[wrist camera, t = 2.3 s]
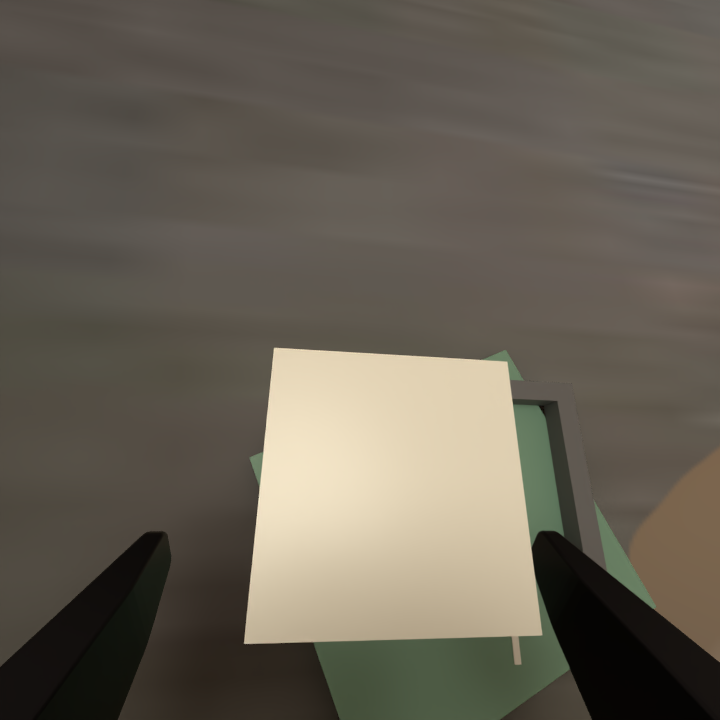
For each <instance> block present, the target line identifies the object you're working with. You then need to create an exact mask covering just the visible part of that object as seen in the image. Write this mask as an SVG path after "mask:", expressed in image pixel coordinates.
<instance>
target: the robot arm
mask: <svg viewBox="0 0 720 720" xmlns="http://www.w3.org/2000/svg"><path fill="white" fill-rule="evenodd" d="M531 550H532V558H533V566H534V573H535V578H536V581H537V584H538V587H539V590H540V593H541V596H542V599H543V602H544V605H545V608H546V611H547V614H548V617H549V620H550V622H551V625H552V628H553V630H554V633H555V635H556V637H557V640H558V642H559V645H560V647H561V649H562V651H563V654H564V656H565V658H566V661H567V663H568V665H569V668H570V670H571V672H572V675H573V677H574V679H575V681H576V684H577V686H578V688H579V691H580V693H581V695H582V698H583V700H584V702H585V705H586V707H587V709H588V711H589V714H590V716H591V718H592V720H720V662H719V661H717V660H716V659H715V658H714V657H712V656H711V655H710V654H709V653H707V652H706V651H705V650H704V649H702V648H701V647H700V646H699V645H697V644H696V643H695V642H694V641H692V640H691V639H690V638H689V637H688V636H686V635H685V634H684V633H682V632H681V631H680V630H679V629H678V628H676V627H675V626H674V625H673V624H671V623H670V622H669V621H668V620H666V619H665V618H664V617H663V616H661V615H660V614H659V613H658V612H656V611H655V610H654V609H653V608H652V607H650V606H649V605H648V604H647V603H645V602H644V601H643V600H642V599H640V598H639V597H638V596H637V595H635V594H634V593H633V592H632V591H630V590H629V589H628V588H627V587H626V586H624V585H623V584H622V583H621V582H619V581H618V580H617V579H616V578H614V577H613V576H612V575H611V574H609V573H608V572H607V571H606V570H604V569H603V568H602V567H601V566H599V565H598V564H597V563H596V562H595V561H593V560H592V559H591V558H590V557H588V556H587V555H586V554H585V553H583V552H582V551H581V550H580V549H578V548H577V547H576V546H575V545H573V544H572V543H571V542H570V541H568V540H567V539H566V538H565V537H563V536H562V535H561V534H560V533H558V532H556V531H552V530H543V531H540V532H538V534H537V536H536V538H535V540H534V543H533V545H532V547H531ZM170 563H171V552H170V546H169V541H168V536H167V534H166V532H163V531H150V532H146V533H145V534H143V535H142V536H141V537H140V538H139V539H138V540H137V541H136V542H135V543H133V544H132V545H131V546H130V547H129V548H128V549H127V550H126V551H125V552H124V553H123V554H122V555H120V556H119V557H118V558H117V559H116V560H115V561H114V562H113V563H112V564H111V565H110V566H109V567H108V568H106V569H105V570H104V571H103V572H102V573H101V574H100V575H99V576H98V577H97V578H96V579H95V580H94V581H92V582H91V583H90V584H89V585H88V586H87V587H86V588H85V589H84V590H83V591H82V592H81V593H79V594H78V595H77V596H76V597H75V598H74V599H73V600H72V601H71V602H70V603H69V604H68V605H67V606H65V607H64V608H63V609H62V610H61V611H60V612H59V613H58V614H57V615H56V616H55V617H54V618H53V619H51V620H50V621H49V622H48V623H47V624H46V625H45V626H44V627H43V628H42V629H41V630H40V631H39V632H37V633H36V634H35V635H34V636H33V637H32V638H31V639H30V640H29V641H28V642H27V643H26V644H24V645H23V646H22V647H21V648H20V649H19V650H18V651H17V652H16V653H15V654H14V655H13V656H12V657H10V658H9V659H8V660H7V661H6V662H5V663H4V664H3V665H2V666H1V667H0V720H118V717H119V715H120V712H121V710H122V707H123V705H124V702H125V700H126V697H127V695H128V692H129V689H130V687H131V684H132V682H133V679H134V677H135V674H136V672H137V669H138V667H139V664H140V662H141V659H142V656H143V654H144V651H145V648H146V646H147V643H148V640H149V637H150V633H151V630H152V627H153V623H154V620H155V616H156V613H157V609H158V606H159V602H160V599H161V596H162V592H163V589H164V585H165V582H166V578H167V575H168V571H169V568H170Z"/></svg>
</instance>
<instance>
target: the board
mask: <svg viewBox="0 0 720 720" xmlns="http://www.w3.org/2000/svg"><path fill="white" fill-rule="evenodd" d="M483 360H488V361H505V362H507V363H508V371H509V379H510V386H511V394H512V402H513V410H514V417H515V425H516V433H517V441H518V449H519V456H520V464H521V472H522V480H523V488H524V495H525V503H526V511H527V519H528V527H529V534H530V542H531V547H532V545H533V543H534V540H535V538H536V536H537V534H538V532H540V531H543V530H552V531H556V532H558V533H560V534H561V535H562V536H563V537H565V538H566V539H567V540H568V541H570V542H571V543H572V544H573V545H575V546H576V547H577V548H578V549H580V550H581V551H582V552H583V553H585V554H586V555H587V556H588V557H590V558H591V559H592V560H593V561H595V562H596V563H597V564H598V565H599V566H601V567H602V568H603V569H604V570H606V571H607V572H608V573H609V574H611V575H612V576H613V577H614V578H616V579H617V580H618V581H619V582H621V583H622V584H623V585H624V586H626V587H627V588H628V589H629V590H630V591H632V592H633V593H634V594H635V595H637V596H638V597H639V598H640V599H642V600H643V601H644V602H645V603H647V604H648V605H649V606H650V607H652V608H653V609H654V608H656V606H655V604H654V602H653V601H652V599H651V597H650V595H649V594H648V592H647V590H646V588H645V587H644V585H643V583H642V582H641V580H640V579H639V577H638V575H637V573H636V572H635V570H634V568H633V566H632V565H631V563H630V561H629V559H628V558H627V556H626V554H625V553H624V551H623V549H622V548H621V546H620V544H619V542H618V541H617V539H616V537H615V536H614V534H613V532H612V530H611V529H610V527H609V525H608V524H607V522H606V520H605V518H604V517H603V515H602V513H601V512H600V510H599V508H598V507H597V505H596V503H595V501H594V498H593V493H592V488H591V482H590V477H589V472H588V467H587V461H586V456H585V451H584V445H583V440H582V435H581V429H580V424H579V419H578V413H577V408H576V403H575V397H574V391H573V386H572V383H559V382H540V381H524V380H523V378H522V377H521V375H520V373H519V372H518V370H517V368H516V367H515V365H514V363H513V361H512V360H511V358H510V356H509V355H508V353H507V351H506V350H504V351H502V352H500V353H497V354H495V355H493V356H490V357H488V358H485V359H483ZM539 406H544V411H545V416H544V414H543V413H542V411H541V409H540V407H539ZM545 417H546V418H545ZM250 461H251V463H252V466H253V469H254V472H255V475H256V478H257V481H258V484H259V487H260V482H261V472H262V462H263V452H262V453H259V454H257V455H254V456H252V457H250ZM535 581H536V578H535ZM536 589H537V597H538V605H539V612H540V620H541V628H542V635H541V636H506V637H471V638H436V639H401V640H366V641H331V642H313V643H314V646H315V649H316V652H317V655H318V658H319V660H320V663H321V666H322V669H323V672H324V675H325V678H326V681H327V684H328V687H329V689H330V692H331V695H332V698H333V701H334V704H335V707H336V710H337V713H338V716H339V718H340V720H500V719H501V718H503V717H504V716H506V715H507V714H508V713H510V712H511V711H513V710H514V709H515V708H517V707H518V706H519V705H521V704H522V703H524V702H525V701H526V700H528V699H529V698H531V697H532V696H533V695H535V694H536V693H538V692H539V691H540V690H542V689H543V688H544V687H546V686H547V685H549V684H550V683H551V682H553V681H554V680H556V679H557V678H558V677H560V676H561V675H563V674H564V673H565V672H567V671H568V670H569V669H570V668H569V665H568V663H567V661H566V658H565V656H564V654H563V651H562V649H561V647H560V645H559V642H558V640H557V637H556V635H555V633H554V630H553V628H552V625H551V622H550V620H549V617H548V614H547V611H546V608H545V605H544V602H543V599H542V596H541V593H540V590H539V587H538V584H537V581H536Z"/></svg>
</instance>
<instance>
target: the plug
mask: <svg viewBox="0 0 720 720" xmlns="http://www.w3.org/2000/svg"><path fill="white" fill-rule="evenodd" d="M541 635H542V628H541V620H540V612H539V605H538V597H537V589H536V581H535V573H534V566H533V558H532V550H531V542H530V534H529V527H528V519H527V511H526V503H525V495H524V488H523V480H522V472H521V464H520V456H519V449H518V441H517V433H516V425H515V417H514V410H513V402H512V394H511V386H510V379H509V371H508V363H507V362H505V361H488V360H471V359H454V358H437V357H420V356H403V355H386V354H369V353H352V352H335V351H318V350H301V349H284V348H274V355H273V364H272V374H271V384H270V394H269V404H268V413H267V423H266V433H265V443H264V452H263V462H262V472H261V482H260V491H259V501H258V511H257V521H256V530H255V540H254V550H253V560H252V570H251V579H250V589H249V599H248V609H247V618H246V628H245V638H244V644H261V643H296V642H331V641H366V640H401V639H436V638H471V637H506V636H541Z"/></svg>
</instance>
